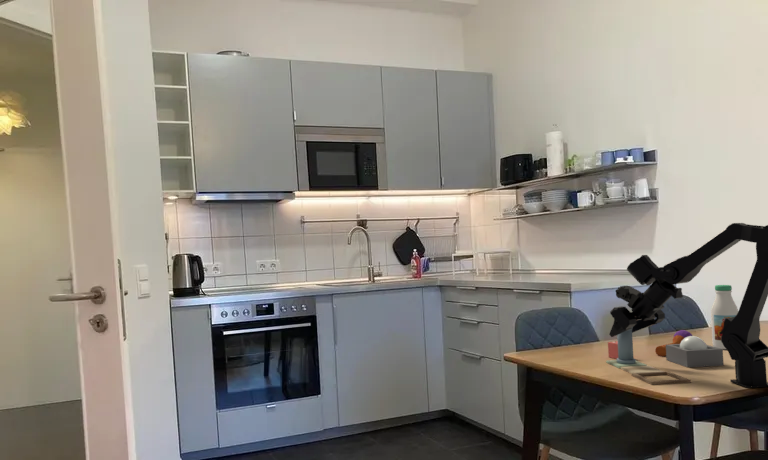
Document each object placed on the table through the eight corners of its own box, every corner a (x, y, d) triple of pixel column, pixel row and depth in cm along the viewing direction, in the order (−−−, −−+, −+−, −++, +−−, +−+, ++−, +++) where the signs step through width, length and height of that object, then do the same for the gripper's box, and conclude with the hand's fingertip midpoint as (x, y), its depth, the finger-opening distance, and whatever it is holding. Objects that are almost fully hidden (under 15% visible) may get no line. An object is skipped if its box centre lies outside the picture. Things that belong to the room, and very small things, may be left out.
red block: (631, 357, 173) (630, 342, 173) (620, 359, 171) (619, 343, 171) (619, 355, 177) (618, 340, 177) (608, 357, 175) (607, 341, 175)
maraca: (648, 342, 176) (675, 329, 189) (654, 361, 176) (680, 347, 189) (667, 340, 172) (693, 327, 185) (673, 360, 171) (699, 345, 184)
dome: (714, 362, 159) (712, 337, 160) (689, 363, 159) (688, 338, 159) (698, 357, 167) (697, 333, 167) (674, 358, 166) (673, 334, 166)
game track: (690, 382, 141) (690, 379, 141) (651, 384, 140) (651, 382, 140) (636, 361, 168) (636, 358, 168) (603, 362, 167) (602, 360, 167)
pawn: (635, 364, 160) (633, 320, 161) (616, 363, 162) (614, 319, 163) (635, 361, 165) (633, 317, 165) (617, 360, 167) (614, 317, 167)
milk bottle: (707, 347, 184) (703, 285, 185) (724, 345, 187) (721, 283, 188) (729, 351, 177) (725, 286, 178) (746, 348, 180) (743, 285, 180)
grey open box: (723, 365, 158) (722, 349, 158) (687, 367, 157) (686, 350, 157) (700, 358, 168) (699, 342, 168) (666, 360, 168) (665, 344, 168)
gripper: (652, 274, 167) (620, 309, 175) (614, 278, 156) (582, 315, 165) (680, 302, 160) (645, 338, 169) (643, 309, 149) (607, 346, 158)
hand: (620, 333), depth 165 cm, fingers open, 9 cm apart
